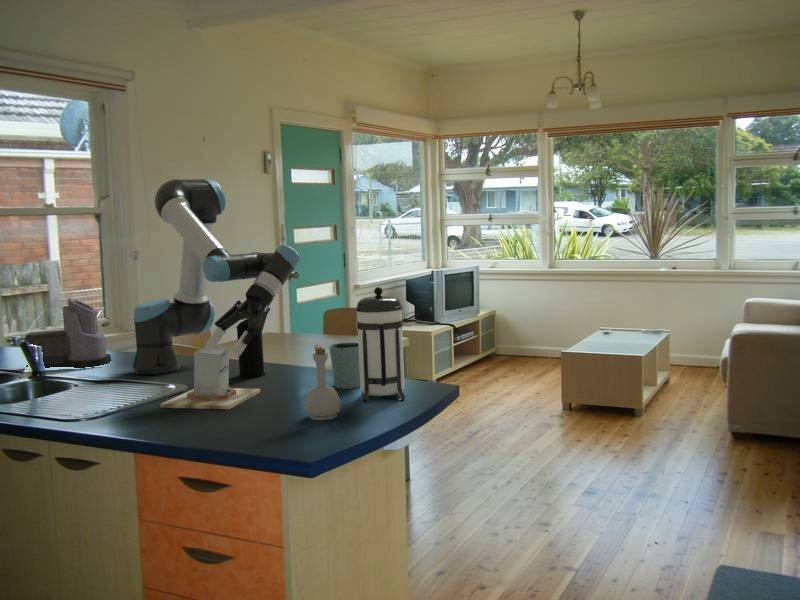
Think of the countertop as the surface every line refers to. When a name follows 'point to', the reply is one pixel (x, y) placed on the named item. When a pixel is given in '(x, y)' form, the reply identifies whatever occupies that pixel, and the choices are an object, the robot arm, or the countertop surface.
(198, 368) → the supplement box
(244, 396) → the collar board
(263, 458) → the countertop surface
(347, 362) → the teal cup
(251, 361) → the aerosol can
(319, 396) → the potion bottle
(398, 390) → the coffee press
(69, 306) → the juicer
